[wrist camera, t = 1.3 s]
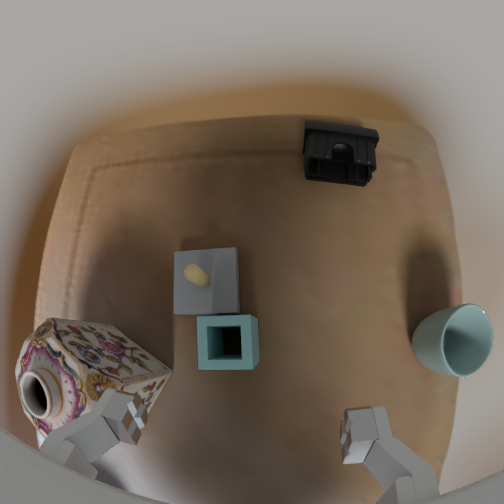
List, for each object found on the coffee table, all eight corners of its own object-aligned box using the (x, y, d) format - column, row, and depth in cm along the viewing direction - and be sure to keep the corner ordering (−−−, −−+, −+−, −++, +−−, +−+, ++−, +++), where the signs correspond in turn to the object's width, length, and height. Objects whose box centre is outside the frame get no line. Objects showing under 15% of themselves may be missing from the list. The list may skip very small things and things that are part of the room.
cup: (394, 333, 33) (429, 331, 24) (436, 301, 34) (477, 289, 24) (418, 381, 31) (457, 392, 21) (458, 347, 31) (501, 346, 22)
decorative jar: (176, 370, 35) (96, 391, 18) (141, 433, 33) (60, 476, 16) (111, 321, 38) (17, 306, 20) (81, 383, 36) (-9, 393, 18)
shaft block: (240, 313, 36) (229, 308, 30) (179, 315, 37) (157, 310, 30) (237, 251, 38) (228, 233, 32) (179, 255, 39) (159, 239, 32)
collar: (259, 361, 34) (252, 369, 27) (216, 362, 35) (198, 369, 27) (257, 318, 36) (250, 314, 28) (214, 320, 36) (196, 316, 29)
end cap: (367, 148, 41) (377, 121, 34) (369, 187, 39) (382, 162, 33) (303, 140, 42) (305, 111, 36) (301, 179, 40) (303, 152, 34)
